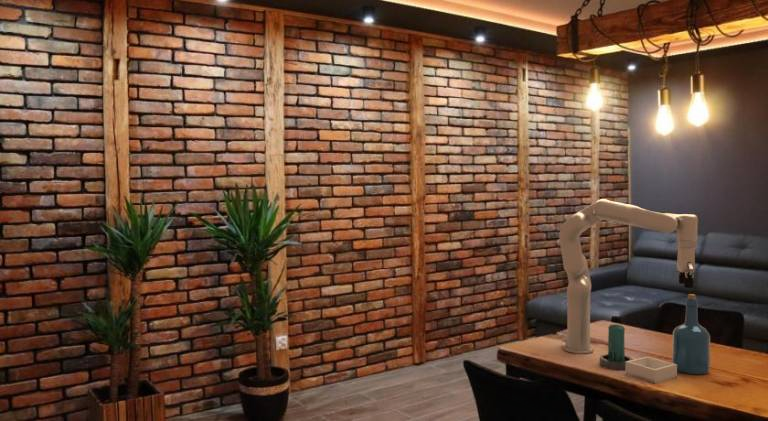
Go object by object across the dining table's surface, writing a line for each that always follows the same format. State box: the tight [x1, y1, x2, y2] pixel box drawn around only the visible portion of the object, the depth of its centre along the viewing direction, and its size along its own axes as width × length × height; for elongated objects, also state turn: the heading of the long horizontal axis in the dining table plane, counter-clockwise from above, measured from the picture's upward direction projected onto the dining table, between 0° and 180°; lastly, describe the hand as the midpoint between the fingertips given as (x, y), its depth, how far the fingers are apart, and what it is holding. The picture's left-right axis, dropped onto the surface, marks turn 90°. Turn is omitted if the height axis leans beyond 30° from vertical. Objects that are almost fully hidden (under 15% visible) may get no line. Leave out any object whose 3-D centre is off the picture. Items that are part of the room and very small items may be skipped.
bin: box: [624, 355, 678, 384], centre depth 246 cm, size 13×13×5 cm
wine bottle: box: [671, 293, 711, 376], centre depth 252 cm, size 14×13×30 cm
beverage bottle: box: [607, 315, 626, 362], centre depth 260 cm, size 6×7×20 cm
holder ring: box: [598, 353, 634, 371], centre depth 260 cm, size 12×12×3 cm
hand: (685, 285), depth 266 cm, fingers open, 9 cm apart
